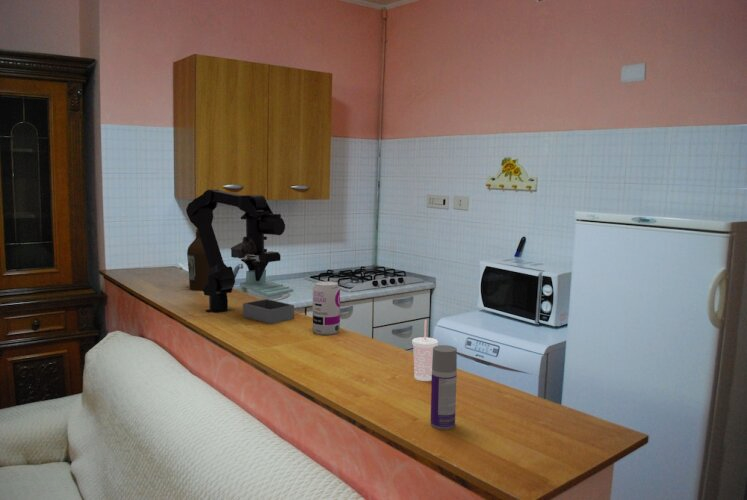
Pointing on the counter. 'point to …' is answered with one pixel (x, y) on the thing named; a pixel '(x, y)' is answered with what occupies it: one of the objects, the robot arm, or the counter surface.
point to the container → (443, 387)
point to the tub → (268, 311)
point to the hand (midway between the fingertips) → (255, 280)
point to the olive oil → (197, 265)
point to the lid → (264, 285)
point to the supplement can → (326, 307)
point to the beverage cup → (423, 356)
